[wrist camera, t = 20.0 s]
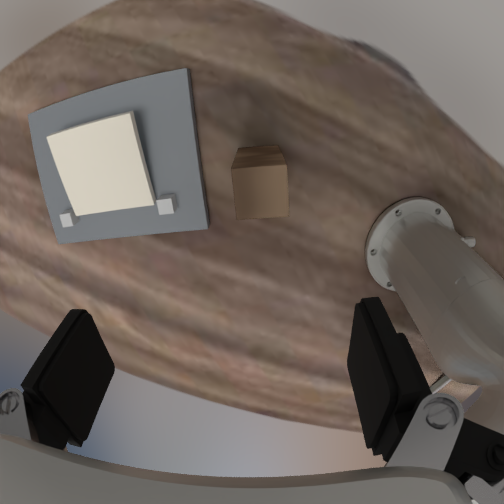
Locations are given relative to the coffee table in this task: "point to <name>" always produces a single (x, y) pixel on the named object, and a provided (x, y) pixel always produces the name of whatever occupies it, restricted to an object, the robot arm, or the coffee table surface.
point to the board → (154, 149)
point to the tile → (103, 165)
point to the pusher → (260, 183)
